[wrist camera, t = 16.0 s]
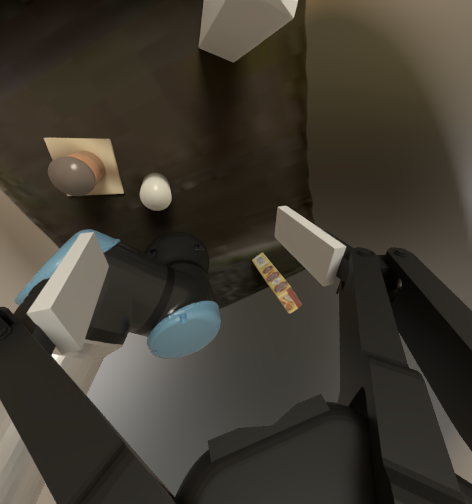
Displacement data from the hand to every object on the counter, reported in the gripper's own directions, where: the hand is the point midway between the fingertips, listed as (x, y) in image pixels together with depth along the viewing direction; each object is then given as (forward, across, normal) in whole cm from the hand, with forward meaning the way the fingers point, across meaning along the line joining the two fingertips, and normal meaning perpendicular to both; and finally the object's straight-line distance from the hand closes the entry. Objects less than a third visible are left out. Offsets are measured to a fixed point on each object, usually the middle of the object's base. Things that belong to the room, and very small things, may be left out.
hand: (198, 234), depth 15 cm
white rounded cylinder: (+30, +4, +4) cm, 30 cm away
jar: (+29, +14, -1) cm, 33 cm away
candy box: (+30, -21, +29) cm, 47 cm away
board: (+30, +14, 0) cm, 33 cm away
